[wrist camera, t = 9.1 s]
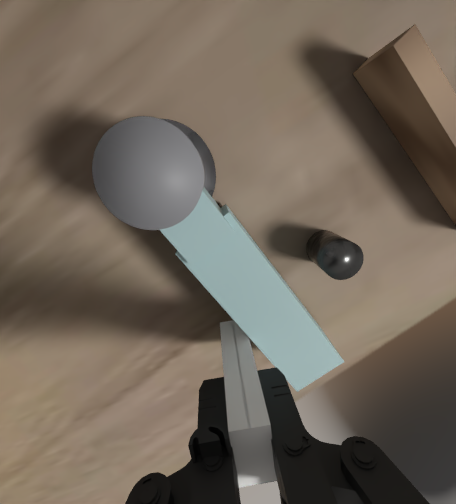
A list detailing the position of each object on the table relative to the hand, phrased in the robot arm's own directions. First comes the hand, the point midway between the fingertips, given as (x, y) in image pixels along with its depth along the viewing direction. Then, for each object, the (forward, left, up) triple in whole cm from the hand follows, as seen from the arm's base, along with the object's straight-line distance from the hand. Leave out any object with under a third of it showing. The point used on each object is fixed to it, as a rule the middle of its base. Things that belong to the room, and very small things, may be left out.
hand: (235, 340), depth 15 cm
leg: (-4, +3, -1) cm, 5 cm away
